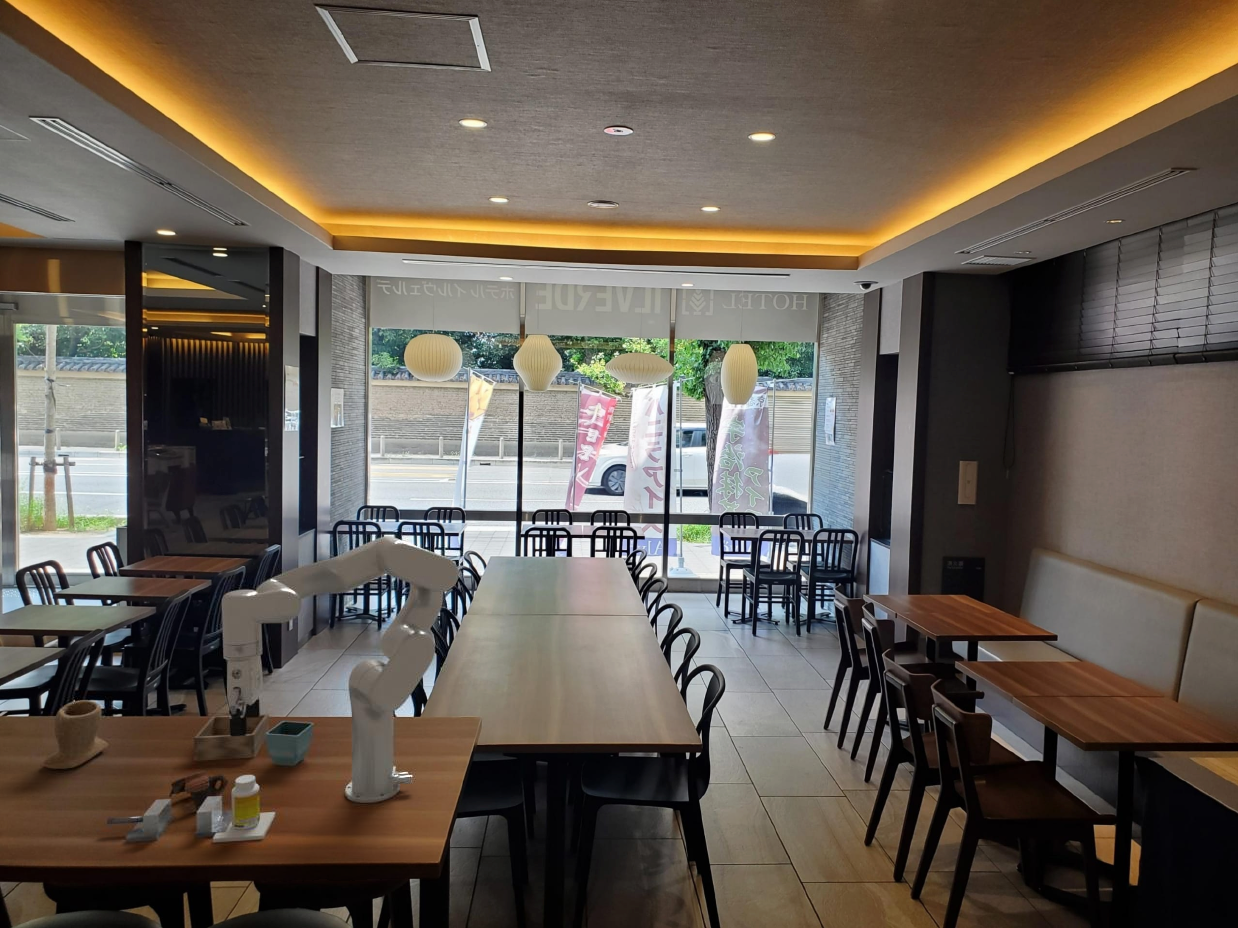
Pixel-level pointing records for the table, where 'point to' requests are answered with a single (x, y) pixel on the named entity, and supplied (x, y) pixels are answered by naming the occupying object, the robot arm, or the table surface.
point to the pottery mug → (198, 788)
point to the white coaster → (247, 830)
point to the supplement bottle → (245, 803)
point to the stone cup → (76, 735)
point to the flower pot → (289, 742)
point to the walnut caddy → (230, 739)
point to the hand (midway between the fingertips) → (245, 725)
